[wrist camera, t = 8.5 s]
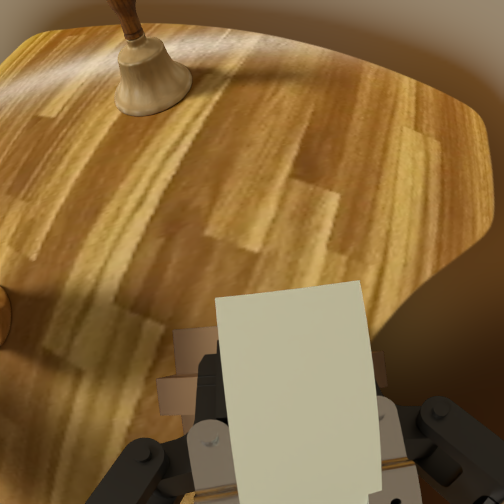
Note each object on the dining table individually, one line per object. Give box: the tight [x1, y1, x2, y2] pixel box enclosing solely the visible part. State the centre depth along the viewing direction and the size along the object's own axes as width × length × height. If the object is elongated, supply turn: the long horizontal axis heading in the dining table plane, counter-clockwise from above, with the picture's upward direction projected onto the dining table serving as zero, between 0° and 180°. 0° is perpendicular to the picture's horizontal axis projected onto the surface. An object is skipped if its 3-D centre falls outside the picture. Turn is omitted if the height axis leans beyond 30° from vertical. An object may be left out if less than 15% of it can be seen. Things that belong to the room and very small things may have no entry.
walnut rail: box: [156, 326, 388, 435], centre depth 17 cm, size 12×8×5 cm, turn 96°
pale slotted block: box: [215, 280, 382, 504], centre depth 11 cm, size 6×3×11 cm, turn 6°
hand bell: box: [106, 0, 192, 116], centre depth 21 cm, size 8×8×16 cm
